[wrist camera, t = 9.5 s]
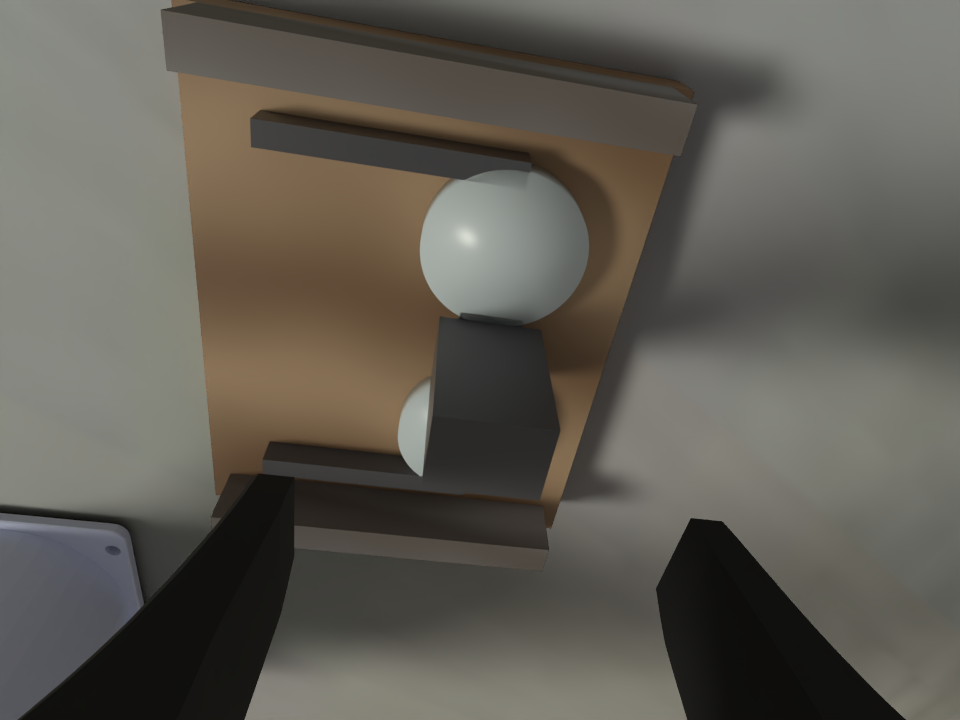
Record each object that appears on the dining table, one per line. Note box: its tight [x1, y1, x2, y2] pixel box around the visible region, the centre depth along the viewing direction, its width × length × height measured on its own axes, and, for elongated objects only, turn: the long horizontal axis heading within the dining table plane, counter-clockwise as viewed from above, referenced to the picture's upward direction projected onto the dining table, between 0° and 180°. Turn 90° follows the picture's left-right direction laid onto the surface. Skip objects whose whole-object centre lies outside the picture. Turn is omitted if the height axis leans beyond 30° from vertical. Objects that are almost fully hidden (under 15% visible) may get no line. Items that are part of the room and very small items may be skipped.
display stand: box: [161, 0, 698, 571], centre depth 17 cm, size 14×11×3 cm
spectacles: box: [250, 110, 589, 500], centre depth 15 cm, size 10×8×5 cm
